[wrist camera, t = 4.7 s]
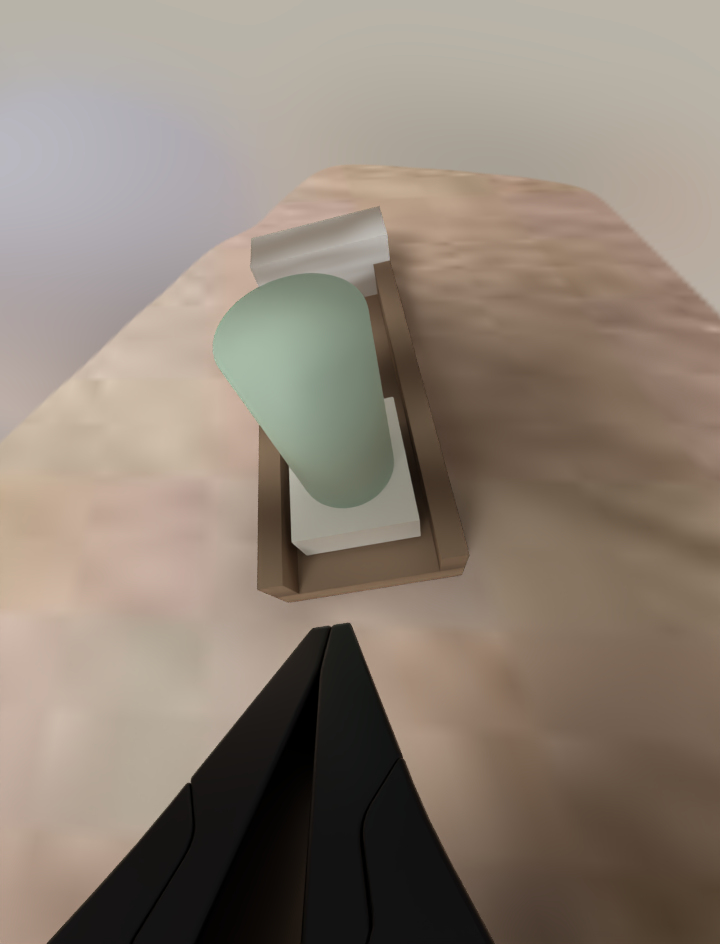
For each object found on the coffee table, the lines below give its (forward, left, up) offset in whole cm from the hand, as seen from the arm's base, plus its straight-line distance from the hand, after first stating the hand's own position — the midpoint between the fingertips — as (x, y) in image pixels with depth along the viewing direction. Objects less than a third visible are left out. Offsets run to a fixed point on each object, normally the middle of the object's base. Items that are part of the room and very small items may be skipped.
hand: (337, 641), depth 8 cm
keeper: (+4, -5, -7) cm, 10 cm away
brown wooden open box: (+8, -10, -9) cm, 16 cm away
